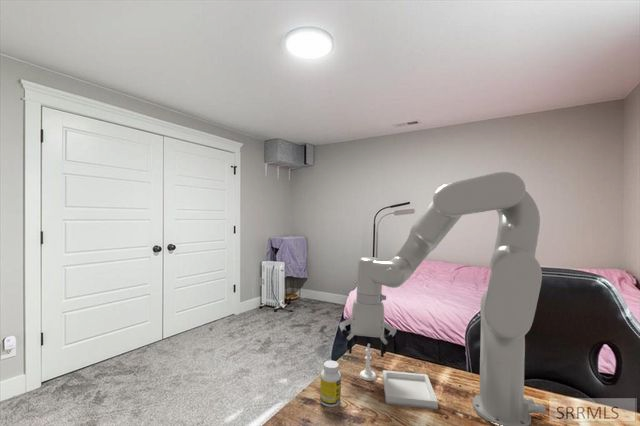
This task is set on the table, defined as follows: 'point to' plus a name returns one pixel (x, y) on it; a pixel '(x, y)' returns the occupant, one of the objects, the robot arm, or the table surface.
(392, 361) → the table surface
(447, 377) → the table surface
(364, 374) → the chess piece
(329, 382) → the supplement bottle
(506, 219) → the robot arm
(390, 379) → the tray
